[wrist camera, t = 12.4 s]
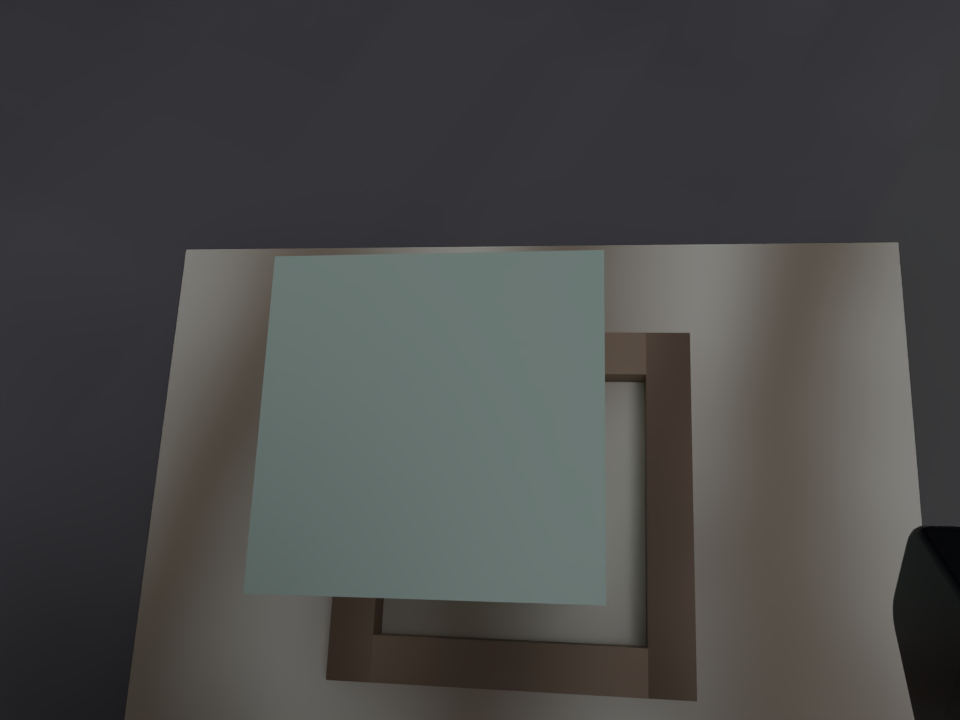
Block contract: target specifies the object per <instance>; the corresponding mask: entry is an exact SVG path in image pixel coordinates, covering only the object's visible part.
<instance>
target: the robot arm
mask: <svg viewBox="0 0 960 720" xmlns="http://www.w3.org/2000/svg"><path fill="white" fill-rule="evenodd" d="M893 622H894V628H895V633H896V638H897V642H898V647H899V651H900V656H901V660H902V665H903V670H904V674H905V679H906V683H907V688H908V692H909V697H910V702H911V706H912V711H913V715H914V720H960V527H953V526H919V527H917V528H915V529H913V530H912V532H911V533H910V535H909V537H908V540H907V543H906V547H905V552H904V556H903V560H902V564H901V568H900V572H899V577H898V581H897V585H896V589H895V593H894V598H893Z"/></svg>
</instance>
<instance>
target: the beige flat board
mask: <svg viewBox="0 0 960 720" xmlns="http://www.w3.org/2000/svg"><path fill="white" fill-rule="evenodd" d="M576 250H604V313H605V477H606V606H605V605H575V604H545V603H514V602H484V601H454V600H423V599H393V598H363V597H332V596H302V595H272V594H243V590H244V580H245V569H246V559H247V548H248V537H249V527H250V516H251V505H252V495H253V484H254V474H255V463H256V452H257V442H258V431H259V420H260V410H261V399H262V389H263V378H264V367H265V357H266V346H267V335H268V325H269V314H270V304H271V293H272V282H273V272H274V261H275V256H320V255H371V254H422V253H473V252H525V251H576ZM919 526H922V520H921V508H920V496H919V484H918V472H917V460H916V449H915V437H914V425H913V413H912V401H911V389H910V377H909V365H908V353H907V341H906V329H905V317H904V305H903V293H902V281H901V269H900V257H899V246H898V243H804V244H706V245H608V246H510V247H412V248H313V249H215V250H186V257H185V264H184V272H183V279H182V287H181V295H180V302H179V310H178V317H177V325H176V332H175V340H174V347H173V355H172V363H171V370H170V378H169V385H168V393H167V400H166V408H165V416H164V423H163V431H162V438H161V446H160V453H159V461H158V468H157V476H156V484H155V491H154V499H153V506H152V514H151V521H150V529H149V537H148V544H147V552H146V559H145V567H144V574H143V582H142V589H141V597H140V605H139V612H138V620H137V627H136V635H135V642H134V650H133V658H132V665H131V673H130V680H129V688H128V695H127V703H126V710H125V718H124V720H914V715H913V711H912V706H911V702H910V697H909V692H908V688H907V683H906V679H905V674H904V670H903V665H902V660H901V656H900V651H899V647H898V642H897V638H896V633H895V628H894V622H893V598H894V593H895V589H896V585H897V581H898V577H899V572H900V568H901V564H902V560H903V556H904V552H905V547H906V543H907V540H908V537H909V535H910V533H911V532H912V530H913V529H915V528H917V527H919Z"/></svg>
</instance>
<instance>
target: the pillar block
mask: <svg viewBox="0 0 960 720" xmlns="http://www.w3.org/2000/svg"><path fill="white" fill-rule="evenodd" d="M243 594H272V595H302V596H332V597H363V598H393V599H423V600H454V601H484V602H514V603H545V604H575V605H605V606H606V477H605V313H604V250H576V251H525V252H473V253H422V254H371V255H320V256H275V261H274V272H273V282H272V293H271V304H270V314H269V325H268V335H267V346H266V357H265V367H264V378H263V389H262V399H261V410H260V420H259V431H258V442H257V452H256V463H255V474H254V484H253V495H252V505H251V516H250V527H249V537H248V548H247V559H246V569H245V580H244V590H243Z"/></svg>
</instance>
